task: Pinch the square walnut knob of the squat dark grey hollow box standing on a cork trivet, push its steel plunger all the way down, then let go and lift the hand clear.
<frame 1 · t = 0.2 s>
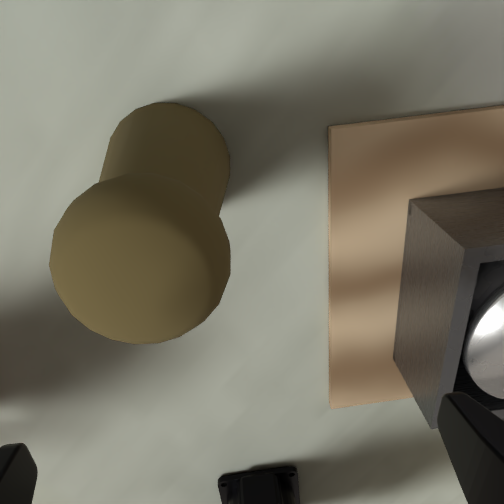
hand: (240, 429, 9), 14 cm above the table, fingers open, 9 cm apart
cork trivet: (487, 270, 25), on the table
dark grey hollow box: (493, 275, 25), resting on cork trivet
pepper shaker: (170, 164, 21), on the table
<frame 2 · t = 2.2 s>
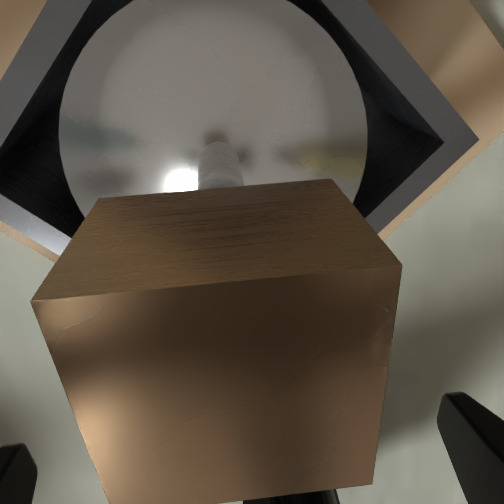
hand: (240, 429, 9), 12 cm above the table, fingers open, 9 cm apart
cork trivet: (216, 121, 18), on the table
dark grey hollow box: (216, 124, 17), resting on cork trivet
plunger: (222, 219, 9), point 10 cm above the table, slide at 0.0 cm
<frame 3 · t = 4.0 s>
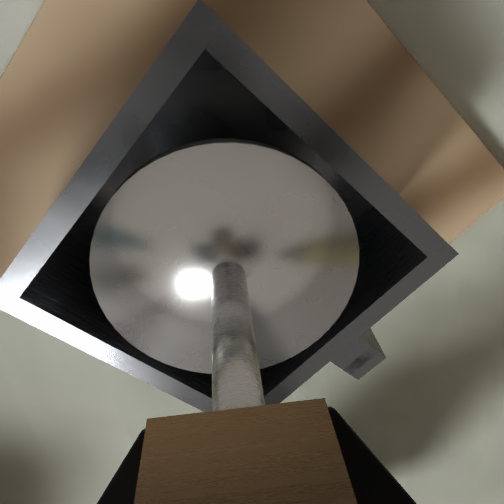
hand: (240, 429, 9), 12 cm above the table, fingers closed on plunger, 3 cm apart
cork trivet: (223, 207, 19), on the table
dark grey hollow box: (223, 212, 19), resting on cork trivet
plunger: (235, 369, 10), point 10 cm above the table, slide at 0.0 cm, touching gripper
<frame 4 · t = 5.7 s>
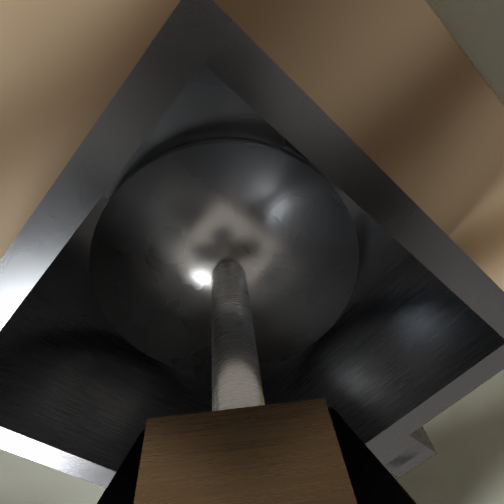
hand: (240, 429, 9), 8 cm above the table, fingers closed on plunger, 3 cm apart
cork trivet: (226, 253, 16), on the table
dark grey hollow box: (227, 261, 15), resting on cork trivet
plunger: (235, 369, 10), point 6 cm above the table, slide at 4.5 cm, touching gripper
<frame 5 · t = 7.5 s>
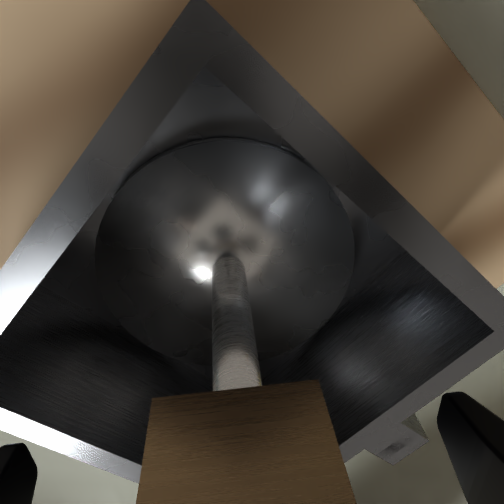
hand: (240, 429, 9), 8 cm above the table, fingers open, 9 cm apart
cork trivet: (226, 249, 16), on the table
dark grey hollow box: (227, 256, 16), resting on cork trivet
plunger: (235, 356, 11), point 6 cm above the table, slide at 4.5 cm
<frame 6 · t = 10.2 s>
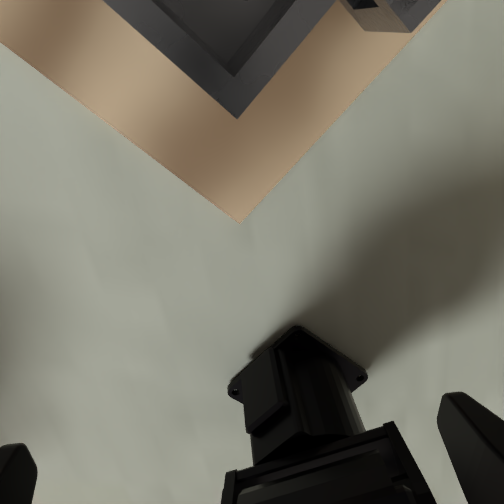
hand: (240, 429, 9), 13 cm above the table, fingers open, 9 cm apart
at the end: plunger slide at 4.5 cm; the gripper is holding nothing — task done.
